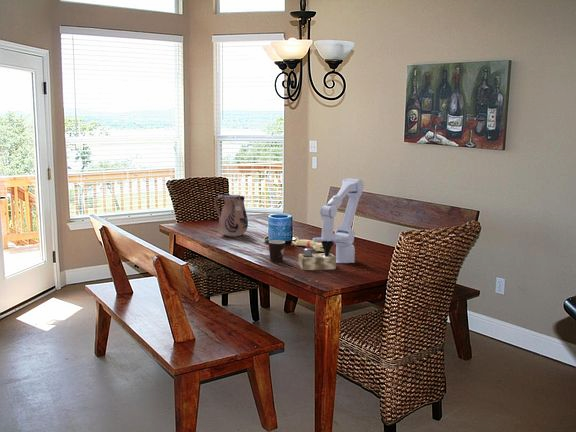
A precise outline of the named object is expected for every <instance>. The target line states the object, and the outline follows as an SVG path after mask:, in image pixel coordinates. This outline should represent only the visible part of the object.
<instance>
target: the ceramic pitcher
mask: <svg viewBox="0 0 576 432" xmlns="http://www.w3.org/2000/svg"><path fill="white" fill-rule="evenodd" d="M245 198H246V197H245V196H243V195H240V194H224V195H222V194H220V195H218V196H216V197H215V198H214V199H213V200H214V208H215V211H216V213H217V215H218V222H219V229H220V230H221V232H222V234H224V235H225V236H227V237H231V238H232V237H233V238H235V237H240V236H242V235H244V234H245V233H246V232H247V230H248V228H249V227H248V226H249V220H248V215H247V211H246V208H245V207H246V206H245ZM218 199H222V200H223V202H224V205H223V207H222V210H220V208H219V205H218Z"/></svg>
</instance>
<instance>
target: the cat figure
mask: <svg viewBox="0 0 576 432" xmlns="http://www.w3.org/2000/svg"><path fill="white" fill-rule="evenodd" d="M298 236H299V232H295V233H294V236H293V237H294V239H296V241H294V240H291V243H290V245H291V246H299V247H300V246H303V247H304V246H306V247H305V248H312V249H313V251H314V252H323V253H324V249H323V246H322V244H321V242H313V240H310V239H299V237H298Z"/></svg>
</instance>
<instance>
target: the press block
mask: <svg viewBox="0 0 576 432" xmlns="http://www.w3.org/2000/svg"><path fill="white" fill-rule="evenodd" d="M322 255H325V253H324V252H323V253H321V252H320V253H313V256H312V257H304V253H298V266H300V267H301V268H300V267H299V268H300V269H301V270H302V271H316V270H319V271H321V270H323V271H324V270H336V268H337V262H336V255H334V254H333V253H331V252H329V255H331V257H323V256H322Z"/></svg>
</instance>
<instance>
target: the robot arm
mask: <svg viewBox="0 0 576 432" xmlns="http://www.w3.org/2000/svg"><path fill="white" fill-rule="evenodd" d="M364 188H365V186H364V181H363V180H362V179H361V178H349V177H345V178H344V179H343V180H342V181H341V187H340V189H339V191H338V192H337V194H336V195H332V197H331V198H330V199H329V200H328V202H327V203H326V204H325V205H323V206H321V208H320V211H319V215H320V216H321V217H320V218H321V236H320V237H313V238H312V241H313V242H319V243H321V244H322V246H323V249H324V252H323V253H325V256H329V253H331V249H332V247H333V246H334V244H335V245H336V246H335V257H336V264H351V263H352V264H354V263H356V261H355V255H356V253H355V251H356V249H355V245H354V244H353V243H354V241H355V231H354V230H353V228H352V226H353V223H354V219H355V215H356V211H357V207H358V206H359V205H358V203H359V200H360V197H361V196H362V194H363V191H364ZM346 196H348V201H347V205H346V207H345V212H344V215H343V218H342V222H341V225H340V226H338V227H336V229H335V232H334V222H335V221H334V220H335V217H336V216H337V212H338V209H339V208H340V206H341V205H342V203H343V199H344V198H345V197H346Z"/></svg>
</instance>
